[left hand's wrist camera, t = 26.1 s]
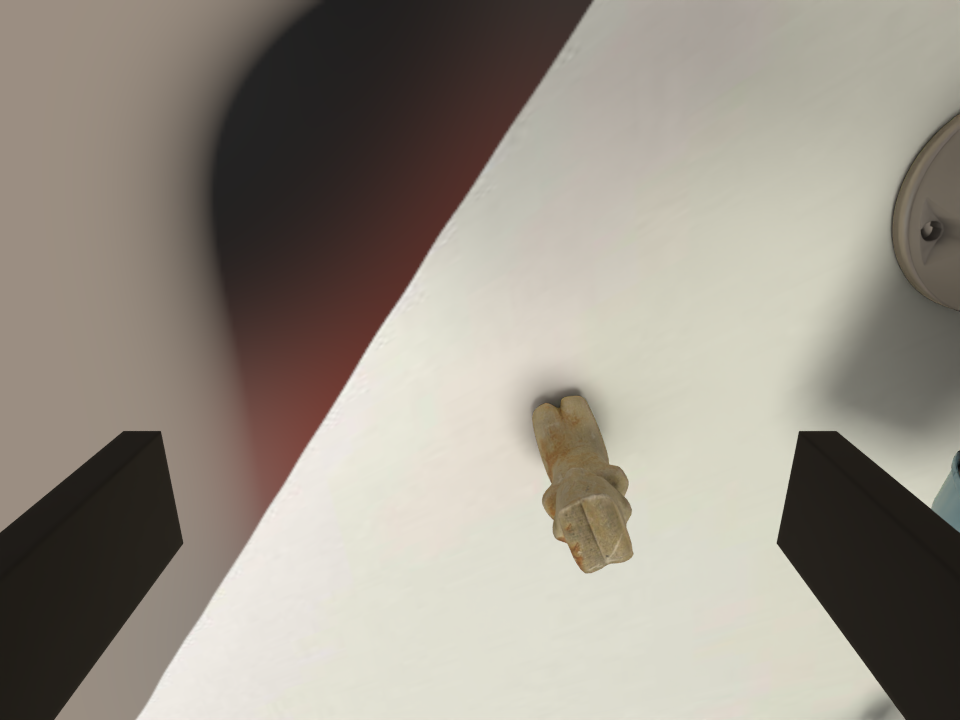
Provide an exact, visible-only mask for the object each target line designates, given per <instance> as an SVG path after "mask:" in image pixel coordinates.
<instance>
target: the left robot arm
mask: <svg viewBox="0 0 960 720" xmlns="http://www.w3.org/2000/svg"><path fill="white" fill-rule="evenodd" d="M892 233H893V244H894V250H895V254H896V258H897V261H898V263H899V266H900V268H901V270H902V272H903V273H904V275H905V277H906V278H907V279H908V281H909V282H910V283H911V285H912V286H913V287H914V288H915V289H916V290H917V291H919V292H920V293H921V294H922V295H924V296H925V297H927V298H928V299H930V300H932V301H934V302H936V303H938V304H940V305H943V306H946V307H949V308H951V309H954V310H957V311H960V114H959V115H957V116H956V117H954V118H953V119H952V120H951V121H949V122H948V123H947V124H946V125H945V126H944V127H942V128H941V129H940V130H939V131H938V132H937V133H936V134H935V135H934V136H933V137H932V139H931V140H930V141H929V142H928V143H927V144H926V145H925V147H924V148H923V149H922V151H921V152H920V153H919V155H918V156H917V158H916V159H915V161H914V162H913V164H912V166H911V167H910V169H909V171H908V173H907V175H906V177H905V179H904V181H903V183H902V186H901V188H900V191H899V194H898V197H897V201H896V205H895V209H894V216H893V227H892ZM182 544H183V539H182V534H181V530H180V524H179V520H178V515H177V509H176V505H175V499H174V495H173V490H172V484H171V479H170V474H169V470H168V465H167V459H166V454H165V449H164V445H163V439H162V435H161V431H123V432H122V433H121V434H120V435H118V436H117V437H116V438H115V439H114V440H112V441H111V442H110V443H109V444H107V445H106V446H105V447H104V448H103V449H101V450H100V451H99V452H98V453H96V454H95V455H94V456H93V457H92V458H90V459H89V460H88V461H87V462H86V463H84V464H83V465H82V466H81V467H80V468H78V469H77V470H76V471H75V472H73V473H72V474H71V475H70V476H69V477H67V478H66V479H65V480H64V481H63V482H61V483H60V484H59V485H58V486H56V487H55V488H54V489H53V490H52V491H50V492H49V493H48V494H47V495H45V496H44V497H43V498H42V499H41V500H39V501H38V502H37V503H36V504H35V505H33V506H32V507H31V508H30V509H28V510H27V511H26V512H25V513H24V514H22V515H21V516H20V517H19V518H18V519H16V520H15V521H14V522H13V523H11V524H10V525H9V526H8V527H7V528H5V529H4V530H3V531H2V532H1V533H0V720H54V719H55V718H56V716H57V715H58V714H59V712H60V711H61V710H62V708H63V707H64V706H65V704H66V703H67V702H68V700H69V699H70V697H71V696H72V695H73V693H74V692H75V690H76V689H77V688H78V686H79V685H80V684H81V682H82V681H83V680H84V678H85V677H86V676H87V674H88V673H89V671H90V670H91V669H92V667H93V666H94V665H95V663H96V662H97V660H98V659H99V658H100V656H101V655H102V654H103V652H104V651H105V650H106V648H107V647H108V645H109V644H110V643H111V641H112V640H113V639H114V637H115V636H116V635H117V633H118V632H119V630H120V629H121V628H122V626H123V625H124V624H125V622H126V621H127V619H128V618H129V617H130V615H131V614H132V613H133V611H134V610H135V609H136V607H137V606H138V604H139V603H140V602H141V600H142V599H143V598H144V596H145V595H146V594H147V592H148V591H149V589H150V588H151V587H152V585H153V584H154V583H155V581H156V580H157V578H158V577H159V576H160V574H161V573H162V572H163V570H164V569H165V568H166V566H167V565H168V563H169V562H170V561H171V559H172V558H173V557H174V555H175V554H176V552H177V551H178V550H179V548H180V547H181V546H182ZM777 544H778V546H779V547H780V548H781V550H782V551H783V553H784V554H785V555H786V557H787V558H788V559H789V561H790V562H791V563H792V565H793V566H794V568H795V569H796V570H797V572H798V573H799V574H800V576H801V577H802V579H803V580H804V581H805V583H806V584H807V585H808V587H809V588H810V589H811V591H812V592H813V594H814V595H815V596H816V598H817V599H818V600H819V602H820V603H821V604H822V606H823V607H824V609H825V610H826V611H827V613H828V614H829V615H830V617H831V618H832V620H833V621H834V622H835V624H836V625H837V626H838V628H839V629H840V630H841V632H842V633H843V635H844V636H845V637H846V639H847V640H848V641H849V643H850V644H851V645H852V647H853V648H854V650H855V651H856V652H857V654H858V655H859V656H860V658H861V659H862V661H863V662H864V663H865V665H866V666H867V667H868V669H869V670H870V671H871V673H872V674H873V676H874V677H875V678H876V680H877V681H878V682H879V684H880V685H881V686H882V688H883V689H884V691H885V692H886V693H887V695H888V696H889V697H890V699H891V700H892V702H893V703H894V704H895V706H896V707H897V708H898V710H899V711H900V712H901V714H902V715H903V717H904V718H905V719H906V720H960V451H958V452H957V453H956V455H955V457H954V458H953V461H952V470H951V472H950V474H949V475H948V477H947V479H946V480H945V482H944V484H943V486H942V487H941V489H940V491H939V492H938V494H937V496H936V498H935V500H934V502H933V504H932V508H931V509H930V508H929V507H928V506H927V505H925V504H924V503H923V502H922V501H921V500H919V499H918V498H917V497H916V496H915V495H913V494H912V493H911V492H910V491H908V490H907V489H906V488H905V487H904V486H902V485H901V484H900V483H899V482H898V481H896V480H895V479H894V478H893V477H891V476H890V475H889V474H888V473H887V472H885V471H884V470H883V469H882V468H881V467H879V466H878V465H877V464H876V463H874V462H873V461H872V460H871V459H870V458H868V457H867V456H866V455H865V454H864V453H862V452H861V451H860V450H859V449H857V448H856V447H855V446H854V445H853V444H851V443H850V442H849V441H848V440H847V439H845V438H844V437H843V436H842V435H840V434H839V433H838V432H837V431H799V434H798V439H797V444H796V449H795V454H794V459H793V464H792V469H791V474H790V479H789V484H788V489H787V494H786V499H785V504H784V509H783V514H782V519H781V524H780V529H779V534H778V539H777Z"/></svg>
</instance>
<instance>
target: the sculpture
mask: <svg viewBox="0 0 960 720" xmlns="http://www.w3.org/2000/svg"><path fill="white" fill-rule="evenodd" d="M532 421H533V428H534V432H535V437H536V440H537V444H538V448H539V451H540V455H541V458H542V461H543V464H544V466H545V469H546V472H547V475H548V477H549V479H550V481H551V483H552V484H551V486H550V487H549V488H548V489H547V490H546V492H545V493H544V495H543V498H542V504H543V506H544V508H545V510H546V512H547V513H548V515H549V516H550V517H551V518H552V519H553V520H554V522H553V534H554V537H555V538H556V539H557V540H559V541H562V542H565V543H567V544H568V546H569V548H570V550H571V553H572V555H573V558H574V559H575V561H576V563H577V565H578V566H579V567H580V569H581V570H582V571H583V572H584V573H592V572H595V571H597V570H600V569H602V568H603V567H604V566H606V565H608V564H611V563H621V562H625V561H627V560H629V559H630V558H631V557H632V556H633V551H632V544H631V540H630V537H629V534H628V531H627V528H626V523H627V521H628V519H629V518H630V516H631V512H632V509H631V506H630V504H629V502H628V500H627V499H626V498H625V497H624V496H625V494H626V491H627V489H628V479H627V477H626V475H625V473H624V472H623V470H622V469H621V468H620V467H618V466H614V465H609V459H608V454H607V450H606V447H605V444H604V441H603V438H602V436H601V433H600V430H599V428H598V425H597V423H596V420H595V418H594V416H593V414H592V412H591V410H590V407H589V405H588V403H587V401H586V400H585V399H584V398H582V397H581V396H568V397H564V398H562V400H561V405H560V407H559V408H557V407H555V406H553V405H551V404H548V403H544V404H542V405H540V406H539V407H538V408H536V409H535V411H534V413H533V417H532Z"/></svg>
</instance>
